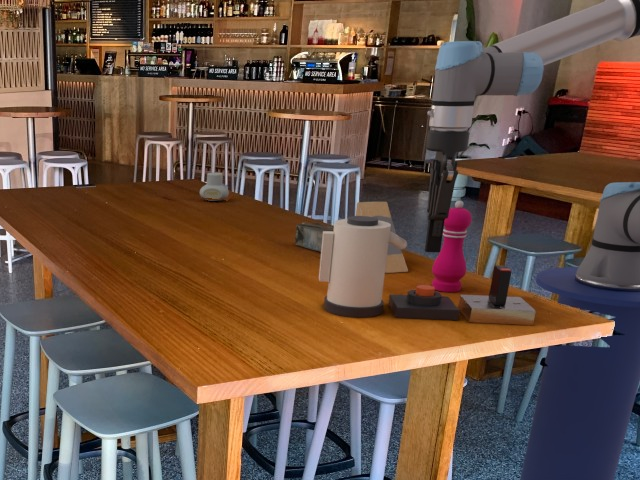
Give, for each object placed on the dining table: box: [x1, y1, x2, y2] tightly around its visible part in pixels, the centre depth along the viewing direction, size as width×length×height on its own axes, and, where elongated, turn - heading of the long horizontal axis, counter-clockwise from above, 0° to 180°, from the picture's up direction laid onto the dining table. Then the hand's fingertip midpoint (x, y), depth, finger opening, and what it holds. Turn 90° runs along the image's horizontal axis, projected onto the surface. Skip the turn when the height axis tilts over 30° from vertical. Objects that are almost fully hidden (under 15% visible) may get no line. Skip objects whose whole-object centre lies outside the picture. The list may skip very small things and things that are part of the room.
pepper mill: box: [431, 200, 473, 293], centre depth 178 cm, size 7×7×20 cm
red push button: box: [415, 284, 436, 296], centre depth 163 cm, size 4×4×2 cm
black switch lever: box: [488, 264, 512, 306], centre depth 159 cm, size 5×2×7 cm, turn 171°
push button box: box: [388, 289, 460, 321], centre depth 164 cm, size 12×10×4 cm
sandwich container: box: [355, 201, 409, 274], centre depth 200 cm, size 9×15×15 cm, turn 11°
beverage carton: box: [294, 221, 334, 253], centre depth 217 cm, size 8×19×7 cm, turn 28°
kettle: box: [318, 215, 408, 319], centre depth 163 cm, size 17×12×19 cm
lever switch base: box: [457, 294, 537, 326], centre depth 161 cm, size 12×10×3 cm
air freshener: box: [199, 172, 230, 202], centre depth 297 cm, size 11×8×10 cm
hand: (432, 251), depth 160 cm, fingers closed
